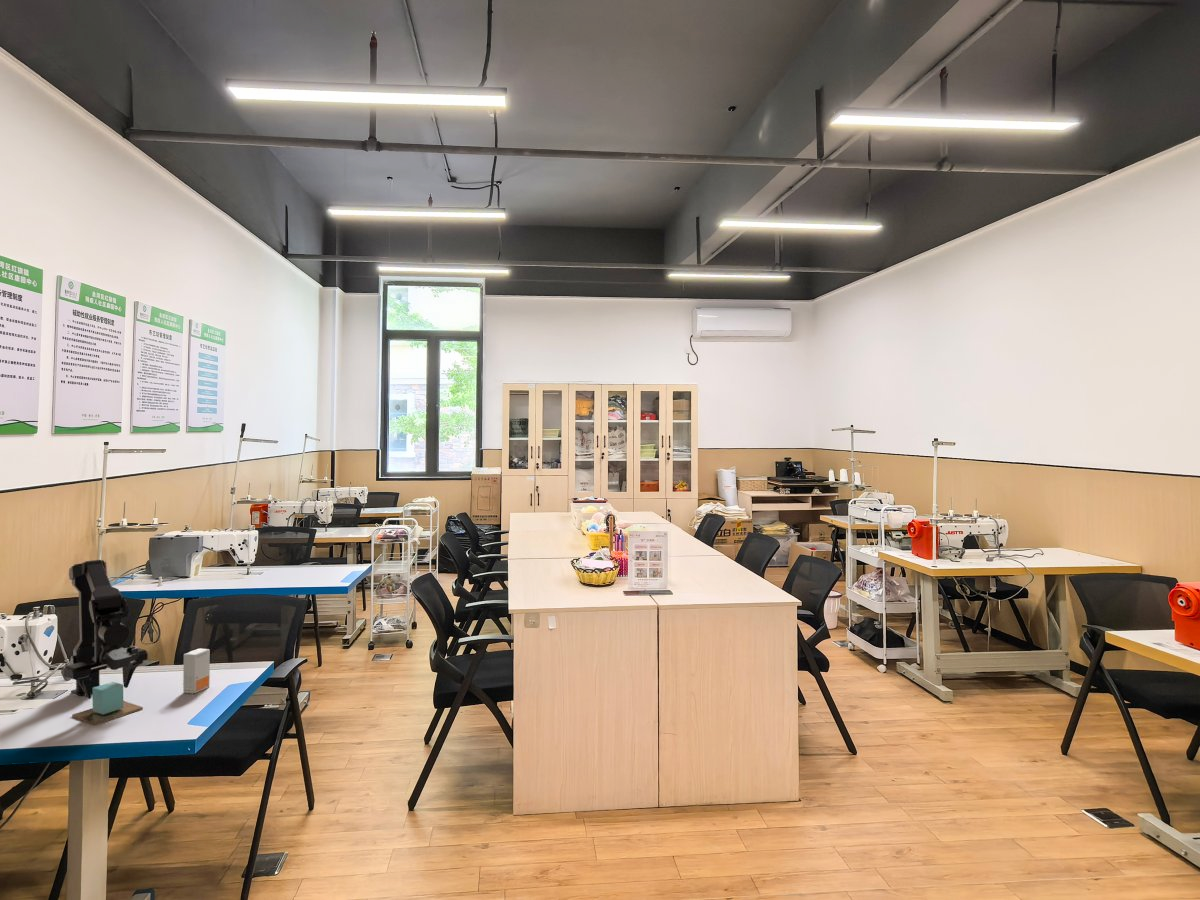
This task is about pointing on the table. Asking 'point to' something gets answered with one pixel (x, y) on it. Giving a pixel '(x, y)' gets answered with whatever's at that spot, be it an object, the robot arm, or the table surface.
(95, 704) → the teal rectangular block
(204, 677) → the skincare box
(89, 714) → the brown square base plate
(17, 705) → the table surface
